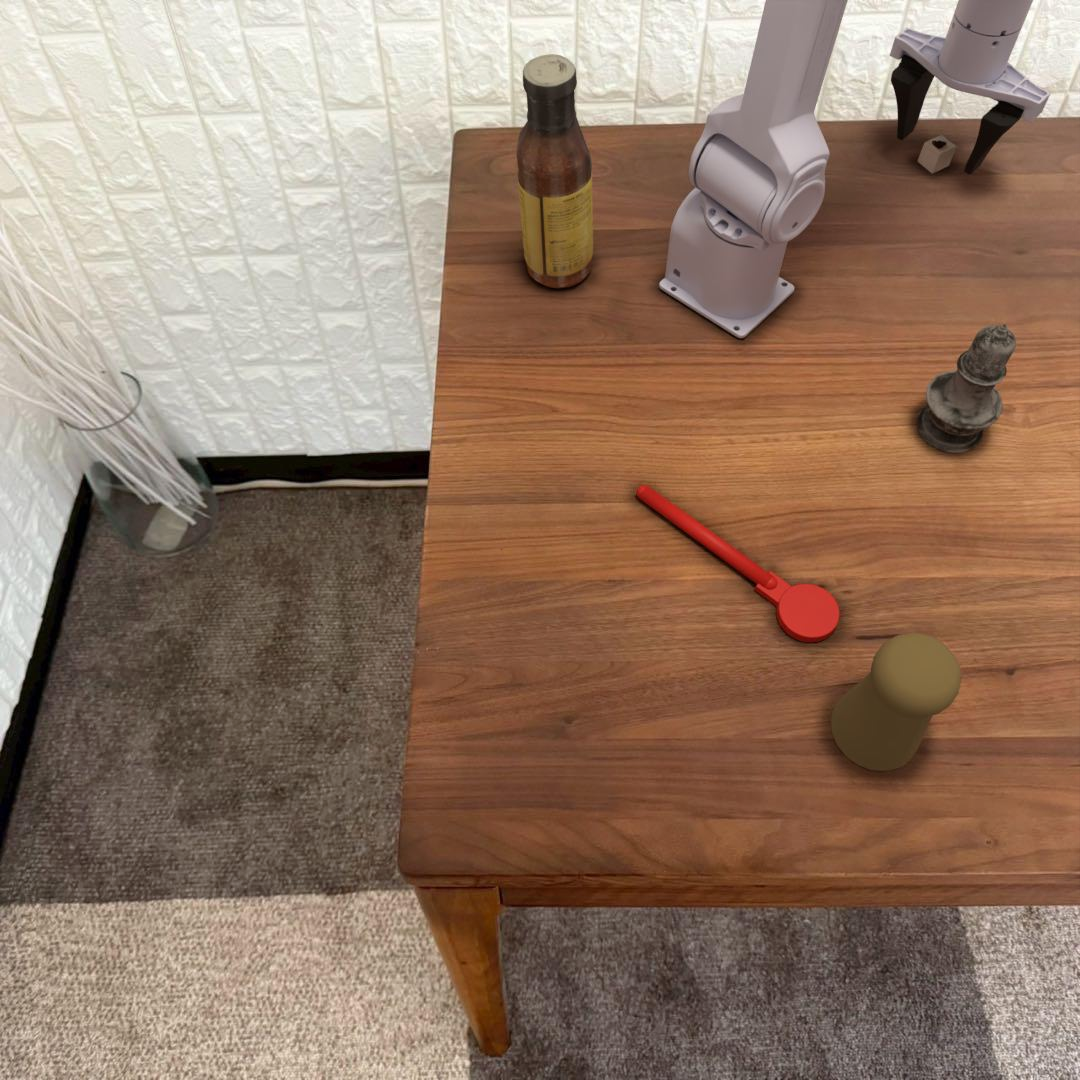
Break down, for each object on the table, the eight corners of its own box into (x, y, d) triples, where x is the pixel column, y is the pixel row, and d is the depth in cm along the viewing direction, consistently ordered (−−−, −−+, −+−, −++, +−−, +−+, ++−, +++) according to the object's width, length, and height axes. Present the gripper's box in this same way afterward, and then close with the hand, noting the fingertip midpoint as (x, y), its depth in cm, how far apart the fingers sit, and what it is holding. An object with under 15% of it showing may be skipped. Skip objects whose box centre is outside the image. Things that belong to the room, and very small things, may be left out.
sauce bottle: (603, 255, 93) (612, 56, 76) (575, 300, 91) (579, 105, 74) (538, 235, 95) (533, 35, 78) (509, 279, 92) (498, 82, 75)
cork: (821, 691, 71) (861, 622, 62) (906, 684, 71) (959, 613, 62) (842, 775, 68) (887, 715, 59) (930, 767, 68) (990, 706, 59)
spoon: (619, 509, 79) (620, 501, 78) (655, 475, 81) (656, 466, 80) (814, 654, 73) (817, 647, 72) (849, 613, 74) (852, 606, 73)
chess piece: (987, 461, 81) (1049, 361, 71) (911, 449, 82) (963, 349, 71) (985, 404, 84) (1045, 300, 74) (913, 393, 85) (962, 289, 74)
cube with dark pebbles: (932, 174, 98) (940, 152, 96) (917, 161, 99) (924, 140, 97) (949, 165, 99) (957, 143, 97) (934, 153, 100) (941, 131, 98)
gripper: (1090, 29, 85) (1026, 163, 97) (939, -36, 90) (896, 99, 102) (1049, 68, 82) (988, 201, 94) (896, -1, 88) (856, 134, 99)
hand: (938, 151), depth 98 cm, fingers open, 7 cm apart
